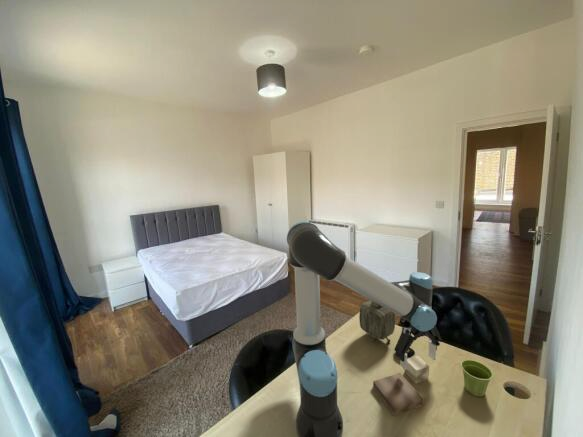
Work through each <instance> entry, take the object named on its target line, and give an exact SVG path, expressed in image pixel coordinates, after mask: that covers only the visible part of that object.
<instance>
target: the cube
mask: <svg viewBox="0 0 583 437" xmlns="http://www.w3.org/2000/svg"><path fill="white" fill-rule="evenodd" d="M404 373H405V375H407V377H409V378H410V380H412V381H413V383H414V384H419V383H423V382H425V381H428V380H429V377H430V376H429V375H430V365H428V363H426V362H425V361H424V360H423V359H422V358H421V357H420V356H418V355H414V356H412V357H411V358H408V359H407V369H406V370H405V369H404Z"/></svg>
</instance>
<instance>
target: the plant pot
mask: <svg viewBox="0 0 583 437" xmlns="http://www.w3.org/2000/svg"><path fill="white" fill-rule="evenodd" d="M460 367H461V369H462V373H463V382H464V383H463V384H464V388H465V390H466V391H468V393H470V394H471V395H473V396H475V397H483V396H485V395H486V392H487V388H488V386H489V383H490V382H491V380H492V379H493V378H494V373H493V372H492V370H491V369H490V367H488V366H487V365H485V364H484V363H482V362H480V361H477V360H474V359H464V360H462V361H461V363H460Z"/></svg>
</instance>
